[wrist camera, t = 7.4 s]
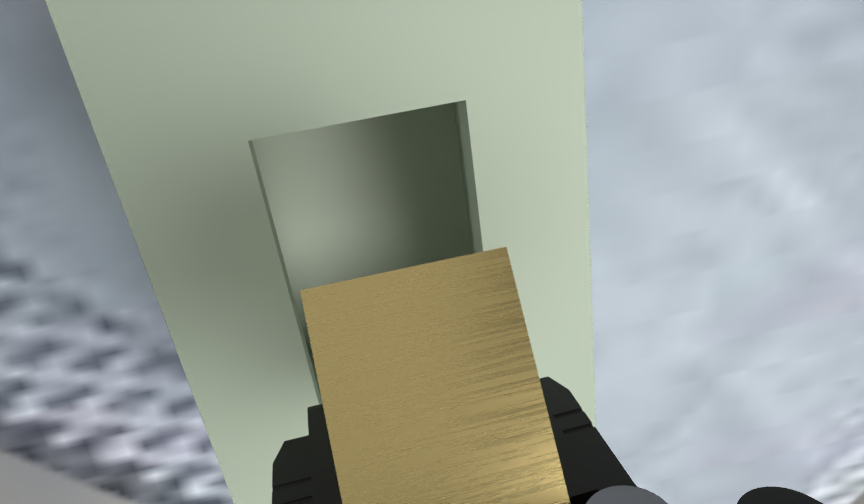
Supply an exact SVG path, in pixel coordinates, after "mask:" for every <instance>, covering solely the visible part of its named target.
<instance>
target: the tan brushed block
mask: <svg viewBox="0 0 864 504" xmlns="http://www.w3.org/2000/svg"><path fill="white" fill-rule="evenodd" d="M300 293H301V298H302V303H303V308H304V313H305V318H306V323H307V328H308V333H309V338H310V343H311V348H312V353H313V358H314V363H315V368H316V373H317V378H318V383H319V388H320V393H321V398H322V403H323V408H324V414H325V419H326V424H327V429H328V434H329V439H330V444H331V449H332V454H333V459H334V464H335V469H336V474H337V479H338V484H339V489H340V494H341V499H342V504H570V500H569V496H568V492H567V488H566V484H565V480H564V476H563V471H562V467H561V463H560V459H559V455H558V451H557V447H556V443H555V439H554V435H553V431H552V427H551V423H550V419H549V415H548V411H547V407H546V403H545V399H544V395H543V391H542V387H541V383H540V379H539V375H538V371H537V367H536V363H535V359H534V355H533V351H532V347H531V343H530V339H529V335H528V331H527V327H526V323H525V319H524V315H523V311H522V307H521V303H520V299H519V295H518V291H517V287H516V283H515V279H514V275H513V271H512V267H511V263H510V259H509V255H508V251H507V247H502V248H497V249H492V250H488V251H483V252H478V253H473V254H469V255H464V256H459V257H454V258H450V259H445V260H440V261H436V262H431V263H426V264H421V265H417V266H412V267H407V268H403V269H398V270H393V271H388V272H384V273H379V274H374V275H370V276H365V277H360V278H355V279H351V280H346V281H341V282H337V283H332V284H327V285H322V286H318V287H313V288H308V289H303V290H300Z"/></svg>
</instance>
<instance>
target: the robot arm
mask: <svg viewBox="0 0 864 504" xmlns="http://www.w3.org/2000/svg"><path fill="white" fill-rule="evenodd" d="M539 379H540V383H541V387H542V391H543V395H544V399H545V403H546V407H547V411H548V415H549V419H550V423H551V427H552V431H553V435H554V439H555V443H556V447H557V451H558V455H559V459H560V463H561V467H562V471H563V476H564V480H565V484H566V488H567V492H568V496H569V500H570V504H667V503H666V502H665V501H664V500H663V499H662V498H660V497H659V496H657V495H656V494H654V493H652V492H650V491H648V490H645V489H642V488H639V487H637V486H636V485H635V484H634V482H633V481H632V479H631V478H630V477H629V475H628V474H627V472H626V471H625V469H624V468H623V466H622V465H621V464H620V462H619V461H618V459H617V458H616V456H615V455H614V454H613V452H612V451H611V449H610V448H609V446H608V445H607V443H606V442H605V441H604V439H603V438H602V436H601V435H600V433H599V432H598V431H597V429H596V428H595V427H593V425H592V422H591V420H590V419H589V418H588V416H587V415H586V413H585V412H583V411H582V408H581V406H580V405H579V403H578V402H577V400H576V399H575V397H574V396H573V395H572V393H571V392H570V390H569V389H567V388H566V387H564V386H563V385H561V384H559V383H558V382H556V381H555V380H553V379H552V378H550V377H544V378H539ZM307 414H308V431H309V435H307V436H303V437H299V438H295V439H291V440H287V441H284V443H283V445H282V447H281V448H280V450H279V452H278V454H277V456H276V458H275V460H274V462H273V468H272V488H273V491H272V504H342V499H341V494H340V489H339V484H338V479H337V474H336V469H335V464H334V459H333V454H332V449H331V444H330V439H329V434H328V429H327V424H326V419H325V414H324V408H323V404H319V405H315V406H311V407H308V408H307ZM737 504H823V503H821V502H819V501H817V500H815V499H813V498H812V497H809V496H807V495H805V494H803V493H800V492H798V491H795V490H791V489H787V488H781V487H761V488H757V489H753V490H751V491H749V492H747V493H745V494H744V495H743V496H742V497H741V498H740V499H739V501H738V503H737Z"/></svg>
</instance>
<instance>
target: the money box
mask: <svg viewBox="0 0 864 504" xmlns="http://www.w3.org/2000/svg"><path fill="white" fill-rule="evenodd" d="M45 2H46V4H47V7H48V10H49V12H50V15H51V18H52V20H53V23H54V26H55V28H56V31H57V34H58V36H59V39H60V42H61V44H62V47H63V50H64V52H65V55H66V58H67V60H68V63H69V66H70V68H71V71H72V74H73V76H74V79H75V82H76V84H77V87H78V90H79V92H80V95H81V98H82V100H83V103H84V106H85V108H86V111H87V114H88V116H89V119H90V122H91V124H92V127H93V130H94V132H95V135H96V138H97V140H98V143H99V146H100V148H101V151H102V154H103V156H104V159H105V161H106V164H107V167H108V169H109V172H110V175H111V177H112V180H113V183H114V185H115V188H116V191H117V193H118V196H119V199H120V201H121V204H122V207H123V209H124V212H125V215H126V217H127V220H128V223H129V225H130V228H131V231H132V233H133V236H134V239H135V241H136V244H137V247H138V249H139V252H140V255H141V257H142V260H143V263H144V265H145V268H146V271H147V273H148V276H149V279H150V281H151V284H152V287H153V289H154V292H155V295H156V297H157V300H158V303H159V305H160V308H161V311H162V313H163V316H164V319H165V321H166V324H167V327H168V329H169V332H170V335H171V337H172V340H173V343H174V345H175V348H176V351H177V353H178V356H179V359H180V361H181V364H182V367H183V369H184V372H185V375H186V377H187V380H188V383H189V385H190V388H191V391H192V393H193V396H194V399H195V401H196V404H197V407H198V409H199V412H200V415H201V417H202V420H203V423H204V425H205V428H206V431H207V433H208V436H209V439H210V441H211V444H212V447H213V449H214V452H215V455H216V457H217V460H218V463H219V465H220V468H221V471H222V473H223V476H224V479H225V481H226V484H227V487H228V489H229V492H230V495H231V497H232V500H233V503H234V504H272V491H273V488H272V468H273V462H274V460H275V458H276V456H277V454H278V452H279V450H280V448H281V447H282V445H283V443H284V441H287V440H291V439H295V438H299V437H303V436H307V435H309V431H308V414H307V408H308V407H311V406H315V405H319V404H323V403H322V398H321V393H320V388H319V383H318V378H317V373H316V368H315V363H314V358H313V353H312V348H311V343H310V338H309V333H308V328H307V323H306V318H305V313H304V308H303V303H302V298H301V293H300V290H303V289H308V288H313V287H318V286H322V285H327V284H332V283H337V282H341V281H346V280H351V279H355V278H360V277H365V276H370V275H374V274H379V273H384V272H388V271H393V270H398V269H403V268H407V267H412V266H417V265H421V264H426V263H431V262H436V261H440V260H445V259H450V258H454V257H459V256H464V255H469V254H473V253H478V252H483V251H488V250H492V249H497V248H502V247H507V251H508V255H509V259H510V263H511V267H512V271H513V275H514V279H515V283H516V287H517V291H518V295H519V299H520V303H521V307H522V311H523V315H524V319H525V323H526V327H527V331H528V335H529V339H530V343H531V347H532V351H533V355H534V359H535V363H536V367H537V371H538V375H539V378H544V377H550V378H552V379H553V380H555V381H556V382H558V383H559V384H561V385H563V386H564V387H566V388H567V389H569V390H570V392H571V393H572V395H573V396H574V397H575V399H576V400H577V402H578V403H579V405H580V406H581V408H582V411H583V412H585V413H586V415H587V416H588V418H589V419H590V420H591V422H592V425H593V427H595V428H596V408H595V378H594V348H593V317H592V287H591V257H590V226H589V196H588V166H587V135H586V105H585V74H584V44H583V14H582V0H45Z"/></svg>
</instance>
